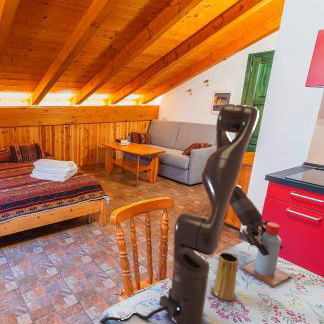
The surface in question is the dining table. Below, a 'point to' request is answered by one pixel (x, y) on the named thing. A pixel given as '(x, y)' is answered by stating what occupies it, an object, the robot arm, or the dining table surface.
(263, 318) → the dining table surface
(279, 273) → the coaster
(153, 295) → the dining table surface
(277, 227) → the cap
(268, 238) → the bottle
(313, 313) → the dining table surface
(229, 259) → the vase
